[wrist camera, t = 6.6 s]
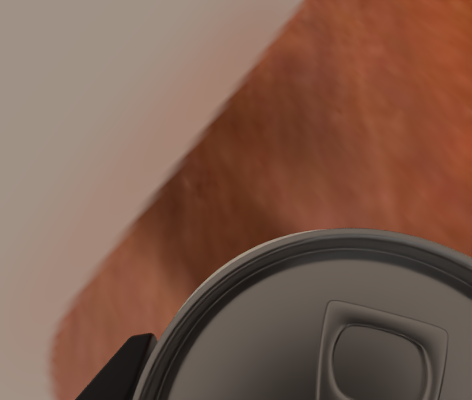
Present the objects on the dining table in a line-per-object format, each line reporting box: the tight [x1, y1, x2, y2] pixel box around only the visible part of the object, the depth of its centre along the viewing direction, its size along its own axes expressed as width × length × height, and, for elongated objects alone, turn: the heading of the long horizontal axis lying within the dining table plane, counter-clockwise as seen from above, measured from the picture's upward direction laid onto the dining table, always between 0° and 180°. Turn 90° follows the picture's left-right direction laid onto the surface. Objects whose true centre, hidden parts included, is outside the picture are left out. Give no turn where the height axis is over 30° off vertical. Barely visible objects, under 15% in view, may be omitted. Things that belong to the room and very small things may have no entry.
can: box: [132, 228, 472, 400], centre depth 10 cm, size 6×6×12 cm
